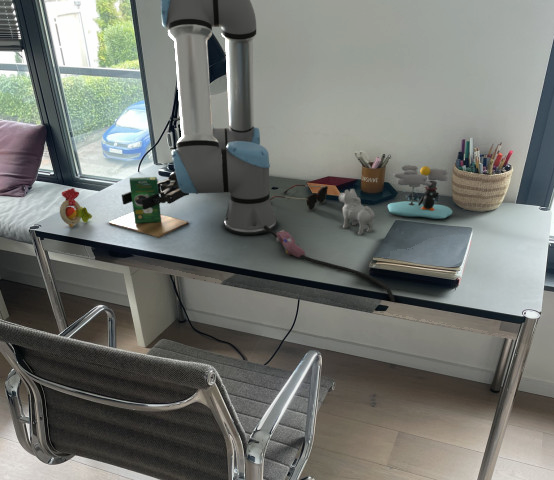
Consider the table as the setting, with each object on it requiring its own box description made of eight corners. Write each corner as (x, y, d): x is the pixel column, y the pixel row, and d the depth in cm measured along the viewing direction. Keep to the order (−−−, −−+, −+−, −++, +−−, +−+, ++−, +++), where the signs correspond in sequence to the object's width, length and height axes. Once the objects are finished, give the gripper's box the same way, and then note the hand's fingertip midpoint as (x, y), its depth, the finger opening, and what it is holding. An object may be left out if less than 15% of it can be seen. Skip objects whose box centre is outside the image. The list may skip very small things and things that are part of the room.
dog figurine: (345, 219, 172) (347, 184, 166) (375, 232, 164) (379, 195, 158) (332, 223, 170) (334, 188, 164) (362, 236, 162) (366, 199, 155)
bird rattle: (81, 235, 168) (97, 214, 172) (62, 206, 159) (80, 185, 163) (65, 231, 170) (82, 211, 174) (46, 203, 161) (64, 182, 165)
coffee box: (162, 219, 172) (156, 175, 164) (162, 222, 169) (156, 178, 162) (135, 220, 170) (128, 177, 163) (135, 224, 168) (128, 180, 160)
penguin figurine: (452, 212, 177) (461, 162, 168) (450, 224, 169) (459, 173, 160) (389, 205, 182) (395, 157, 174) (383, 216, 174) (389, 166, 165)
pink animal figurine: (281, 250, 157) (270, 230, 153) (295, 242, 157) (284, 221, 153) (292, 265, 150) (281, 244, 145) (307, 256, 149) (296, 235, 145)
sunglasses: (307, 213, 177) (307, 197, 174) (264, 206, 184) (263, 191, 181) (328, 200, 186) (328, 185, 183) (286, 194, 194) (285, 180, 191)
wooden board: (188, 223, 170) (188, 221, 170) (159, 237, 161) (158, 236, 161) (139, 210, 179) (139, 209, 178) (109, 223, 170) (109, 222, 170)
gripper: (211, 198, 175) (160, 221, 160) (162, 187, 184) (110, 208, 169) (209, 174, 171) (157, 195, 155) (159, 164, 180) (106, 183, 164)
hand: (133, 202), depth 162 cm, fingers closed on coffee box, 7 cm apart
